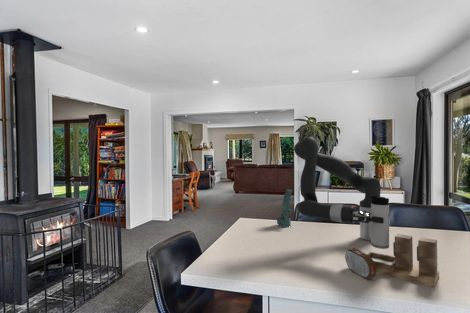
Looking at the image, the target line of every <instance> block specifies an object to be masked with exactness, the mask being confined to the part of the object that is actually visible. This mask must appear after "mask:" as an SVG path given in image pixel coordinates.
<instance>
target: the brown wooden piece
mask: <svg viewBox="0 0 470 313" xmlns="http://www.w3.org/2000/svg"><path fill="white" fill-rule="evenodd" d="M417 243H418V245H417V246H416V261H418V266H417V265H414V260H413V259H414V258H413V257H414V253H413V252H414V251H413V246H414V244H413V235H407V234H400V233H397V234H396V235H395V236H394V242H393V255H388V254H383V253H378V252H375V251H369V252H368V253H366V254H367V255H369V256H370V257H371V258H372V259H373V261H374V263H375V266H376V274H379V273H380V275H384V276H388V277H392V278H396V279H399V280H400V279H401V280H404V281H408V282H413V283H416V284H420V285H424V286H428V287H431V288H435V287H436V284H437V283H438V280H439V279H440V271H439V270H438V240H437V239H433V238H429V237H428V238H426V237H420V238H419V239H418V241H417Z"/></svg>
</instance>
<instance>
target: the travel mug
mask: <svg viewBox="0 0 470 313" xmlns="http://www.w3.org/2000/svg"><path fill="white" fill-rule="evenodd" d="M371 201H372V202H371V216H375V217H382V218H384V223H383V224H381V223H374V222H373V223H371V241H370V242H371V243H370V244H371V247H374V248H376V249H382V250H385V249H386V250H387V249H389V248H390V198H389V197H387V198H386V197H385V196H380V197H379V196H373V195H371Z"/></svg>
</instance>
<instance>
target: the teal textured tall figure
mask: <svg viewBox="0 0 470 313" xmlns="http://www.w3.org/2000/svg"><path fill="white" fill-rule="evenodd" d="M292 193H293V190H292V189H289V188H287V189H286V190H285V193H284V196H283V200H282V206H281V212H280V217H278V219H276V224H277V226H278V227H279V226H281V227H280V228H290V227H291V226H292V225H291V223H292V222H291V220H292V219H291V218H290V217H288V216H289V214H291V215H293V212H294V211H293V209H290V204H291V197H292ZM289 226H290V227H289Z"/></svg>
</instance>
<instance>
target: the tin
mask: <svg viewBox="0 0 470 313" xmlns="http://www.w3.org/2000/svg"><path fill="white" fill-rule="evenodd" d="M344 254H345V256H344V257H345V262H346V265H347V267H348V269H349V270H350V271H352V272H353V273H355V274H357V275H358V276H360V277H361V278H362V279H365V280H368V279H374V278H376V276H377V273H376V266H375V263H374V261H373V259H372V258H371V257H370V256H369V255H367V254H368V253H365V252H363V251H361V250H359V249H357V248H355V247H352V248H349V249H347V250H346V251H345V253H344Z"/></svg>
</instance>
